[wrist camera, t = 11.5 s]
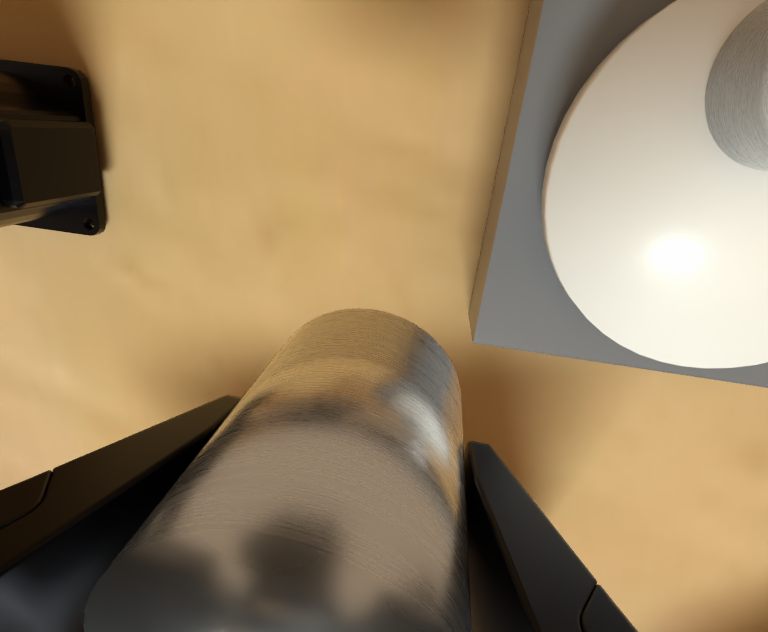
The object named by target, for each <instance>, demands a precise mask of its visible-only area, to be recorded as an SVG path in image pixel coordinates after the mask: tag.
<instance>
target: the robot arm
mask: <svg viewBox="0 0 768 632" xmlns="http://www.w3.org/2000/svg"><path fill="white" fill-rule="evenodd" d="M72 77H73V78H74V80H75V82H76V84H75V87H74V88H73V87H72V85H71V78H72ZM90 219H91V220H92V221H93V223H94V227H92V226H91V225H90V222H89V220H90ZM9 225H21V226H28V227H35V228H42V229H48V230H55V231H62V232H69V233H76V234H83V235H96V234H100V233H102V232H103V231H104V230H105V226H106V222H105V214H104V206H103V198H102V185H101V177H100V169H99V160H98V152H97V143H96V135H95V129H94V123H93V114H92V106H91V98H90V89H89V83H88V80H87V78H86V76H85V75H84V74H83V73H82V72H81V71H80V70H77V69H73V68H67V67H59V66H51V65H42V64H34V63H25V62H17V61H9V60H0V227H4V226H9ZM241 399H242V398H241V397H236V396H231V395H226V396H223V397H221V398H218V399H216V400H214V401H211V402H209V403H207V404H204V405H202V406H200V407H197V408H195V409H192V410H190V411H188V412H185V413H183V414H181V415H178V416H176V417H174V418H171V419H169V420H167V421H164V422H162V423H159V424H157V425H155V426H152V427H150V428H148V429H145V430H143V431H141V432H138V433H136V434H134V435H131V436H129V437H126V438H124V439H122V440H119V441H117V442H115V443H112V444H110V445H108V446H105V447H103V448H100V449H98V450H96V451H93V452H91V453H89V454H86V455H84V456H82V457H79V458H77V459H74V460H72V461H70V462H67V463H65V464H63V465H60V466H58V467H56V468H54V469H53V471H50V470H48V471H46V472H44V473H41V474H39V475H36V476H34V477H32V478H29V479H27V480H25V481H22V482H20V483H17V484H15V485H12V486H10V487H7V488H5V489H3V490H0V632H84V627H83V624H84V615H85V608H86V605H87V602H88V599H89V596H90V593H91V592H92V590H93V588H94V587H95V585H96V583H97V582H98V580H99V579H100V577H101V576H102V575H103V574H104V572H105V571H106V570H107V569H108V567H109V566H110V565H111V563H112V562H113V561H114V560H115V558H116V557H117V556H118V555H119V553H120V552H121V551H122V550H123V548H124V547H125V546H126V544H127V543H128V542H129V541H130V539H131V538H132V537H133V536H134V534H135V533H136V532H137V531H138V529H139V528H140V527H141V525H142V524H143V523H144V522H145V520H146V519H147V518H148V517H149V515H150V514H151V513H152V512H153V510H154V509H155V508H156V506H157V505H158V504H159V503H160V501H161V500H162V499H163V498H164V496H165V495H166V494H167V493H168V491H169V490H170V489H171V488H172V486H173V485H174V484H175V482H176V481H177V480H178V479H179V477H180V476H181V475H182V474H183V472H184V471H185V470H186V469H187V467H188V466H189V465H190V463H191V462H192V461H193V460H194V458H195V457H196V456H197V455H198V453H199V452H200V451H201V450H202V448H203V447H204V446H205V444H206V443H207V442H208V441H209V439H210V438H211V437H212V436H213V434H214V433H215V432H216V431H217V429H218V428H219V427H220V425H221V424H222V423H223V422H224V420H225V419H226V418H227V417H228V415H229V414H230V413H231V412H232V410H233V409H234V408H235V406H236V405H237V404H238V403H239V401H240V400H241ZM464 467H465V489H466V511H467V533H468V555H469V576H470V598H471V620H472V632H638V631H637V630H636V629H635V627H634V626H633V625H632V624H631V623H630V621H629V620H628V619H627V618H626V616H625V615H624V614H623V613H622V612H621V610H620V609H619V608H618V607H617V606H616V604H615V603H614V602H613V600H612V599H611V598H610V597H609V595H608V594H607V593H606V592H605V590H604V589H603V588H602V587H601V586H600V585H596V584H597V581H596V579H595V578H594V577H593V575H592V574H591V573H590V572H589V570H588V569H587V568H586V567H585V565H584V564H583V563H582V561H581V560H580V559H579V558H578V556H577V555H576V554H575V553H574V551H573V550H572V549H571V548H570V546H569V545H568V544H567V542H566V541H565V540H564V539H563V537H562V536H561V535H560V534H559V532H558V531H557V530H556V529H555V527H554V526H553V525H552V523H551V522H550V521H549V520H548V518H547V517H546V516H545V515H544V513H543V512H542V511H541V509H540V508H539V507H538V506H537V504H536V503H535V502H534V501H533V499H532V498H531V497H530V496H529V494H528V493H527V492H526V490H525V489H524V488H523V487H522V485H521V484H520V483H519V482H518V480H517V479H516V478H515V477H514V475H513V474H512V473H511V471H510V470H509V469H508V468H507V466H506V465H505V464H504V463H503V461H502V460H501V459H500V458H499V456H498V455H497V454H496V452H495V451H494V450H493V449H492V447H491V446H490V445H488V444H484V443H479V442H474V441H470V442H468V443H467V445H466V449H465V453H464Z"/></svg>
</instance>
